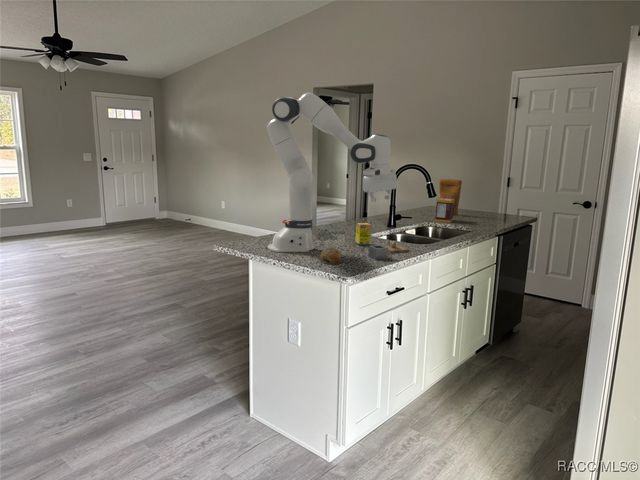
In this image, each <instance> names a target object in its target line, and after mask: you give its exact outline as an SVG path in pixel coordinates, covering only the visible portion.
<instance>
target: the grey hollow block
mask: <svg viewBox="0 0 640 480" xmlns="http://www.w3.org/2000/svg"><path fill="white" fill-rule="evenodd" d="M384 246H385V245H382V244H380V245H379V244H378V245H368V254H367V255H368V258H371V259H374V260H378V261H379V260H388V254H389V253H388V248H387V247H384Z"/></svg>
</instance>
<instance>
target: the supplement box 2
mask: <svg viewBox="0 0 640 480" xmlns="http://www.w3.org/2000/svg"><path fill="white" fill-rule="evenodd" d="M454 203H455V199H448V198H440V199H439V198H438V199H436V207H435V208H436V209H435V220H434V221H435V222H440V223H451V222H452V221H454V216H453V214H454Z"/></svg>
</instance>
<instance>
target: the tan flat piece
mask: <svg viewBox="0 0 640 480" xmlns="http://www.w3.org/2000/svg"><path fill="white" fill-rule="evenodd" d="M383 246H384V247H387V248H388V254H396V253H397V254H398V253H400V254H401V253H410V249H409V248H407V247H404V246H401V245H398V244H397V241H394V240H393V241H391V245H390V244H389V245H388V244H387V245H383Z"/></svg>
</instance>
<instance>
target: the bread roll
mask: <svg viewBox="0 0 640 480" xmlns="http://www.w3.org/2000/svg"><path fill="white" fill-rule="evenodd" d="M319 259H320V262H321V263H323V264H326V265H339V264H342V262H343V253H342V252H341V251H340V250H339V249H337V248H335V247H328V248H325V249H324V250H322V251H321V253H320V255H319Z"/></svg>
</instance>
